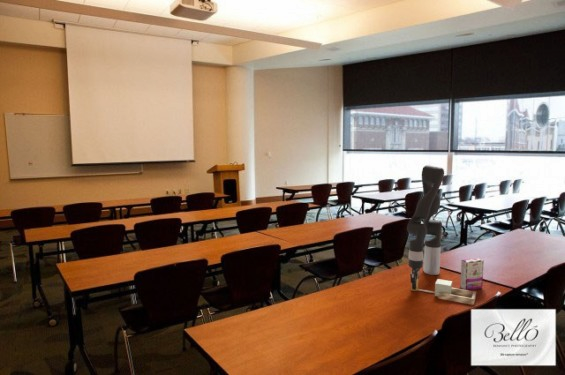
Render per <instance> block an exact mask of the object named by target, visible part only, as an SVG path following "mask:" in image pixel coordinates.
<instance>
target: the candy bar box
mask: <svg viewBox="0 0 565 375" xmlns="http://www.w3.org/2000/svg"><path fill="white" fill-rule="evenodd" d="M460 265H461V266H460V267H461V268H460V289H463V290H469V291H474V290H479V289H483V283H484V282H483V281H484V280H483V278H484V259H481V258H479V257H475V258H467V259H465V258H464V259H461V262H460Z"/></svg>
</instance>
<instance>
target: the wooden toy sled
mask: <svg viewBox="0 0 565 375" xmlns="http://www.w3.org/2000/svg"><path fill="white" fill-rule="evenodd" d="M476 298H477V291H476V290H464V289H462V288H457V287H452V294H446V293H441V292H438V296H437V299H440V300H445V301H450V302H456V303H461V304H465V305H466V304H467V305H471V306H472V305H473V306H475V302H476Z"/></svg>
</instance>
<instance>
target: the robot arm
mask: <svg viewBox="0 0 565 375" xmlns="http://www.w3.org/2000/svg"><path fill="white" fill-rule="evenodd" d="M444 177H445V169H444V168H443V167H440V166H434V165H428V164H427V165H424V166H423V167H422V169H421V182H422V197H421V198H420V200H418V203H417V205H416V208H415V211H414V214H413V215H412V217H411V218H410V220H409V221H408V223H407V227H406V230H407V233H408V234H409V235H413V236H416V237H415V238H412V239H410V241H409V250H408V262H407V263H408V267H409V268H411V270H410V274H409V275H410V276H409V277H410V284H411V286H412V289H413V290H416V283H417V282H416V281H417V279H418V280H419V278H420V271H421V269H422V271H423V273H424V274H427V275H429V276H430V275H431V276H434V275H435V276H436V275H437V276H438V275H439V274H440V268H441V248H442V247H441V245H442V244H441V242H442V233H443V231H442V230H443V224H442V223H443V222H442V220H436V219H435V220H434V219H431V218H432V217H433V216H434V215H435V214H436V213H437V212H438V211H439V210H440V208H441V207H440V206H441V197H440V195H439V193H438V192H439V189H440V187H441V185H442V182H443V181H444ZM432 184H433V185H432ZM421 221H422V222H423V223H421ZM426 236H434V237H432V238H428V239H426ZM425 239H426V240H425ZM423 250H424V251H423ZM413 280H414V281H413ZM413 290H412V291H413Z"/></svg>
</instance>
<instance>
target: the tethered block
mask: <svg viewBox="0 0 565 375" xmlns="http://www.w3.org/2000/svg"><path fill="white" fill-rule="evenodd" d="M413 281H414V280H413ZM416 282H417V283H416V290H413V289H412V285H411V291H414V292H418V291H420V292H426V293H431V294H432V293H433V294H434V297H438V292H441V293H446V294H452V288H453V280H446V279H440V278H437V279H436V281H435V282H434V286H435V287H434V291H432V290H428V289H422V288H421V289H420V288H419V279H417V281H416ZM452 295H453V294H452Z"/></svg>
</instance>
